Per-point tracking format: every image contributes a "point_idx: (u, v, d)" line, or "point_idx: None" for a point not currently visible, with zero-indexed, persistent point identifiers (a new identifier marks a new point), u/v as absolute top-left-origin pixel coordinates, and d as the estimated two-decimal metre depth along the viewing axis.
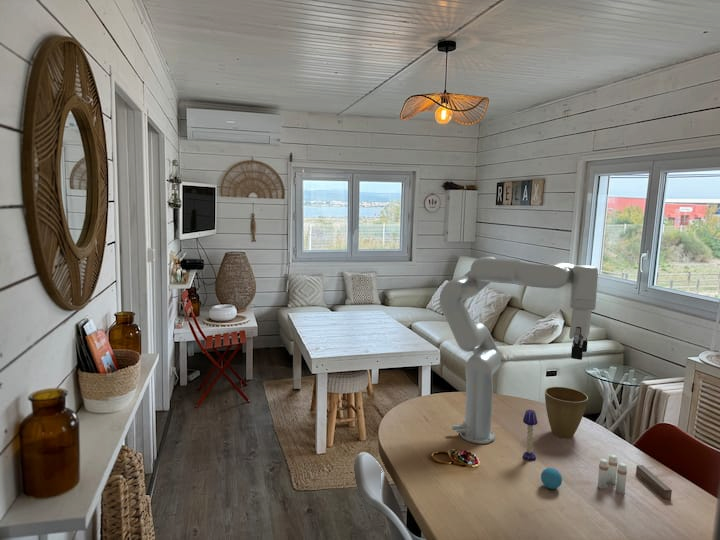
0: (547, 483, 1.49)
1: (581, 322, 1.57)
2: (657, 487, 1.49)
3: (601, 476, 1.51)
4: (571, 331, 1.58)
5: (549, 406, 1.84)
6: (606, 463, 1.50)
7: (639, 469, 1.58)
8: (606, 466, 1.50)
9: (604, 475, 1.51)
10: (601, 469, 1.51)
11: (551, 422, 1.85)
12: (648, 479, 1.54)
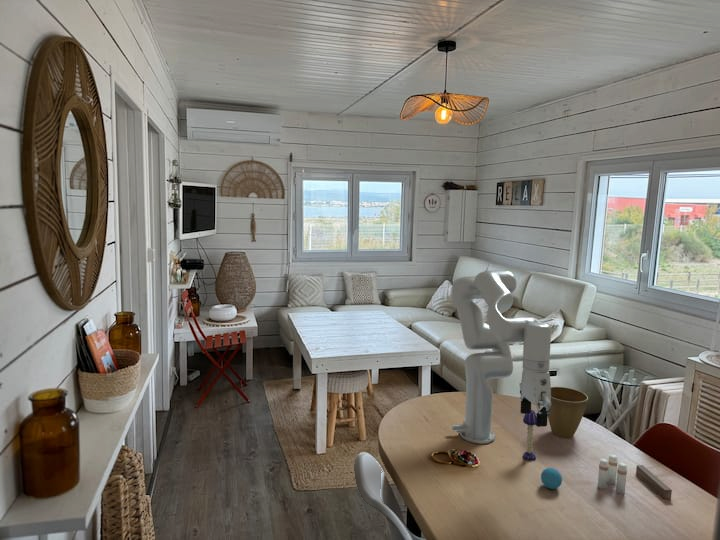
0: (547, 483, 1.49)
1: None
2: (657, 487, 1.49)
3: (601, 476, 1.51)
4: None
5: None
6: (606, 463, 1.50)
7: (639, 469, 1.58)
8: (606, 466, 1.50)
9: (604, 475, 1.51)
10: (601, 469, 1.51)
11: (551, 422, 1.85)
12: (648, 479, 1.54)
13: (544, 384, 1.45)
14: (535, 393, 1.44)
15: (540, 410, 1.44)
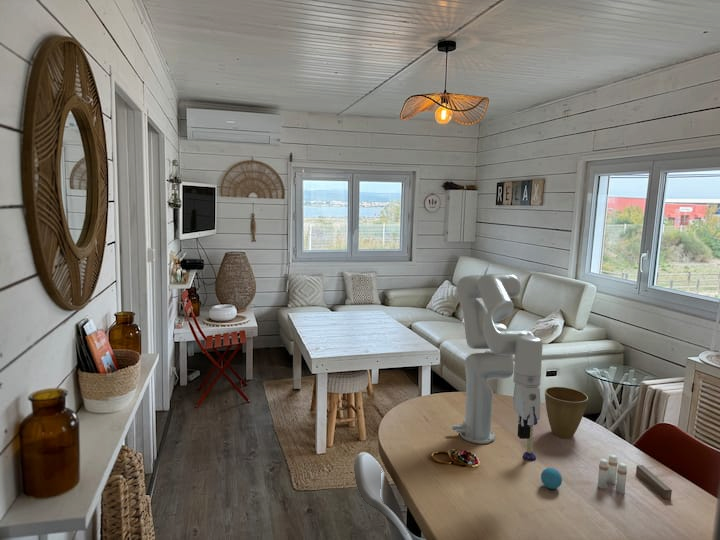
0: (547, 483, 1.49)
1: None
2: (657, 487, 1.49)
3: (601, 476, 1.51)
4: None
5: (549, 406, 1.84)
6: (606, 463, 1.50)
7: (639, 469, 1.58)
8: (606, 466, 1.50)
9: (604, 475, 1.51)
10: (601, 469, 1.51)
11: (551, 422, 1.85)
12: (648, 479, 1.54)
13: (533, 399, 1.43)
14: (524, 408, 1.43)
15: None
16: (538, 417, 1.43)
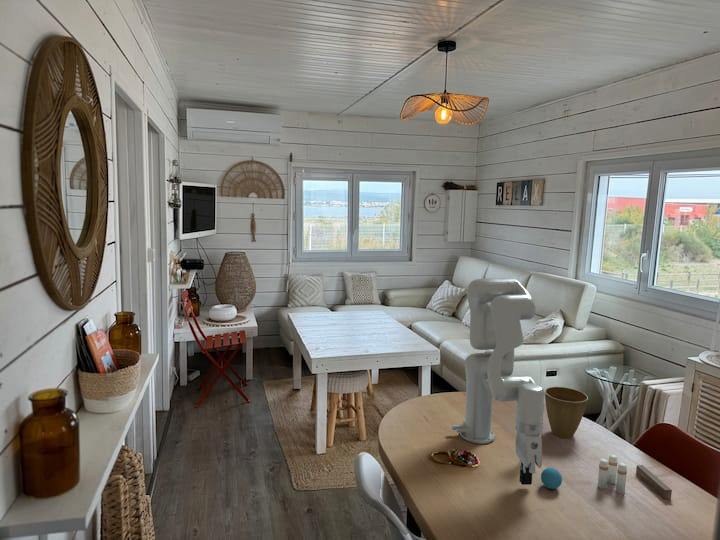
0: (547, 483, 1.49)
1: None
2: (657, 487, 1.49)
3: (601, 476, 1.51)
4: None
5: (549, 406, 1.84)
6: (606, 463, 1.50)
7: (639, 469, 1.58)
8: (606, 466, 1.50)
9: (604, 475, 1.51)
10: (601, 469, 1.51)
11: (551, 422, 1.85)
12: (648, 479, 1.54)
13: (535, 447, 1.45)
14: (526, 456, 1.45)
15: None
16: (540, 465, 1.45)
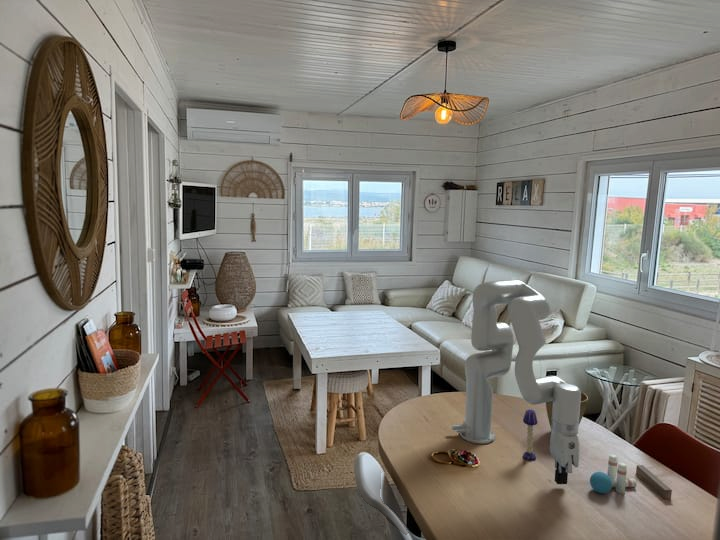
0: None
1: None
2: (657, 487, 1.49)
3: None
4: None
5: (549, 406, 1.84)
6: (635, 485, 1.52)
7: (639, 469, 1.58)
8: (632, 485, 1.52)
9: None
10: (627, 481, 1.52)
11: (551, 422, 1.85)
12: (648, 479, 1.54)
13: (572, 447, 1.46)
14: (563, 456, 1.46)
15: None
16: (576, 465, 1.46)
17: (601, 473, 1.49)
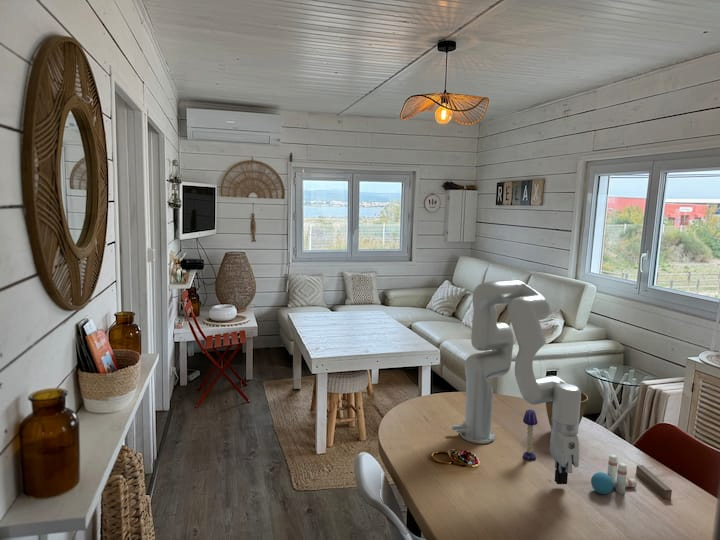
0: None
1: None
2: (657, 487, 1.49)
3: None
4: None
5: (549, 406, 1.84)
6: (635, 485, 1.52)
7: (639, 469, 1.58)
8: (632, 485, 1.52)
9: None
10: (628, 481, 1.52)
11: (551, 422, 1.85)
12: (648, 479, 1.54)
13: (572, 447, 1.46)
14: (563, 456, 1.46)
15: None
16: (576, 465, 1.46)
17: (603, 474, 1.48)
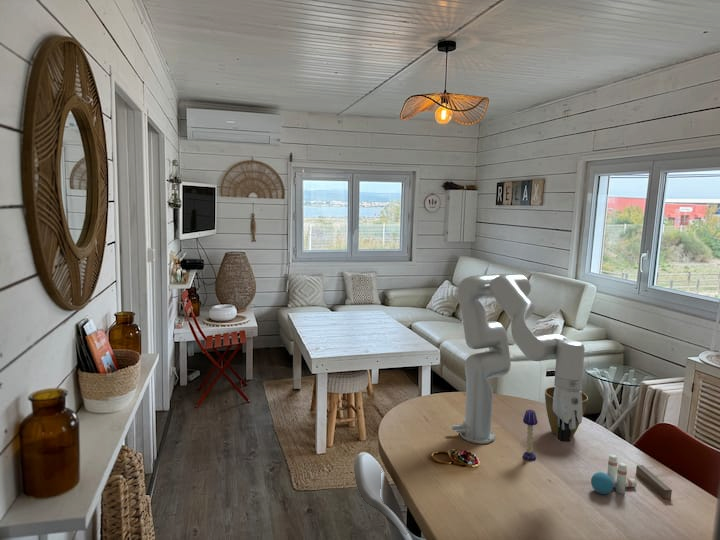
0: None
1: None
2: (657, 487, 1.49)
3: None
4: None
5: (549, 406, 1.84)
6: (635, 485, 1.52)
7: (639, 469, 1.58)
8: (632, 485, 1.52)
9: None
10: (628, 481, 1.52)
11: (551, 422, 1.85)
12: (648, 479, 1.54)
13: (575, 403, 1.44)
14: (566, 411, 1.44)
15: None
16: (580, 421, 1.44)
17: (603, 474, 1.48)
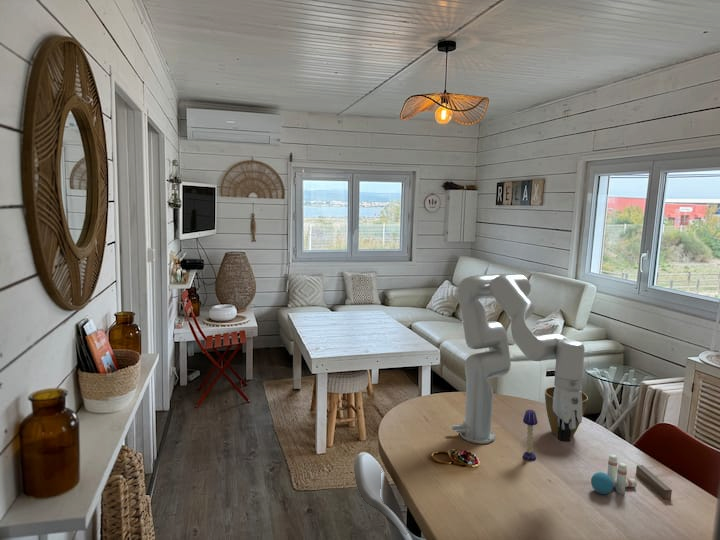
0: None
1: None
2: (657, 487, 1.49)
3: None
4: None
5: (549, 406, 1.84)
6: (635, 485, 1.52)
7: (639, 469, 1.58)
8: (632, 485, 1.52)
9: None
10: (628, 481, 1.52)
11: (551, 422, 1.85)
12: (648, 479, 1.54)
13: (575, 403, 1.44)
14: (566, 411, 1.44)
15: None
16: (580, 421, 1.44)
17: (603, 474, 1.48)
